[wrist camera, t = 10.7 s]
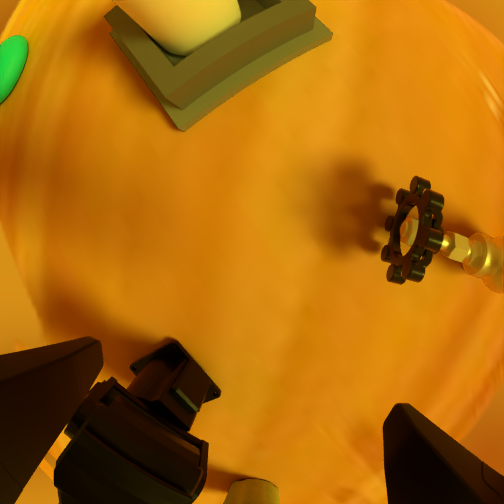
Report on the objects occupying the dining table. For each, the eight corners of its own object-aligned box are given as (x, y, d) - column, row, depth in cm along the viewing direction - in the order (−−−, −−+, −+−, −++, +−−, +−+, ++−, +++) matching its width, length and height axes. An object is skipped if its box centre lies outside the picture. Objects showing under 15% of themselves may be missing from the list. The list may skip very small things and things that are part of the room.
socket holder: (184, 131, 18) (160, 119, 14) (114, 37, 17) (90, 20, 13) (331, 39, 15) (338, 11, 11) (233, -39, 14) (225, -66, 10)
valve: (503, 224, 16) (395, 177, 17) (553, 238, 10) (442, 173, 11) (482, 296, 18) (372, 266, 19) (525, 326, 11) (407, 301, 12)
